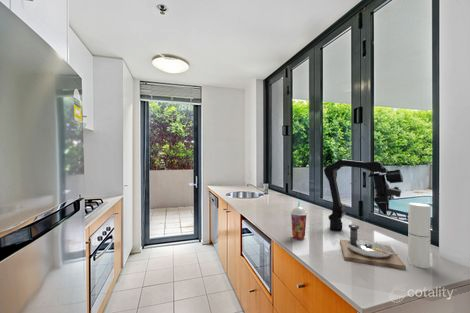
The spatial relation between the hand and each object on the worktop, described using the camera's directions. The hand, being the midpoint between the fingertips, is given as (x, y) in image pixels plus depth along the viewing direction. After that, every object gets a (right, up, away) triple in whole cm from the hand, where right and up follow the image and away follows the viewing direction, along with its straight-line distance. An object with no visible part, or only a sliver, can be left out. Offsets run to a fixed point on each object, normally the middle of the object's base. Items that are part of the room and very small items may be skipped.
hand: (386, 212), depth 120 cm
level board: (-21, -15, -18) cm, 31 cm away
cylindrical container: (-5, -15, -27) cm, 31 cm away
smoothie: (-47, -15, +2) cm, 49 cm away
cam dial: (-21, -13, -18) cm, 30 cm away
